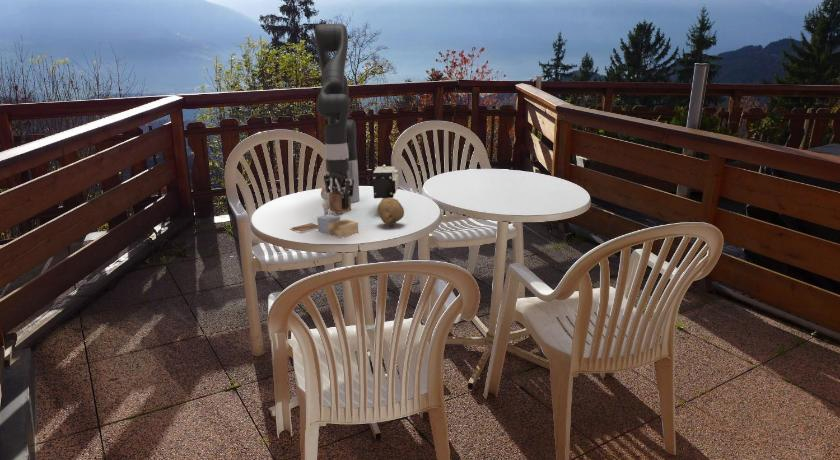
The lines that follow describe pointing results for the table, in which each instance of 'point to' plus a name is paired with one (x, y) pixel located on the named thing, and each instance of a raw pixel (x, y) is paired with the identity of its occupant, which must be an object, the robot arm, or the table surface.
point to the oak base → (343, 228)
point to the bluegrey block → (326, 222)
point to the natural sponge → (390, 211)
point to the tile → (305, 228)
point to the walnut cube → (337, 202)
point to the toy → (327, 201)
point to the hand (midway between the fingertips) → (340, 207)
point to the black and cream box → (385, 182)
